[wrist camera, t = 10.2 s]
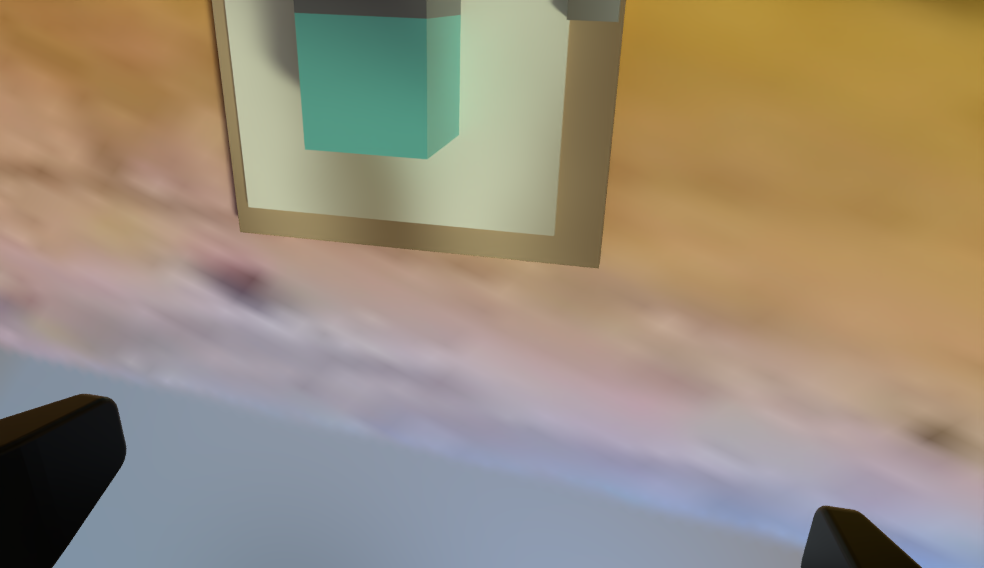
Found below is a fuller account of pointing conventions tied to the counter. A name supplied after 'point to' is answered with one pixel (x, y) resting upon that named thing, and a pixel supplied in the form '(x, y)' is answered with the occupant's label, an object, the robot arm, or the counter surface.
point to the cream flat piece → (458, 165)
